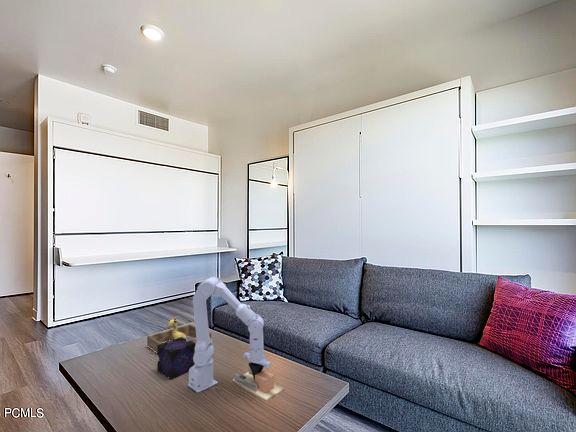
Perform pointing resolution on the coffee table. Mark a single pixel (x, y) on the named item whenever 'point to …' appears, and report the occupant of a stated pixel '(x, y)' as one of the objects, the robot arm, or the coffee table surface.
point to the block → (264, 381)
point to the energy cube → (175, 357)
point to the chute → (255, 386)
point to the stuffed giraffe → (174, 332)
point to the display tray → (167, 335)
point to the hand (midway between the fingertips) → (256, 380)
